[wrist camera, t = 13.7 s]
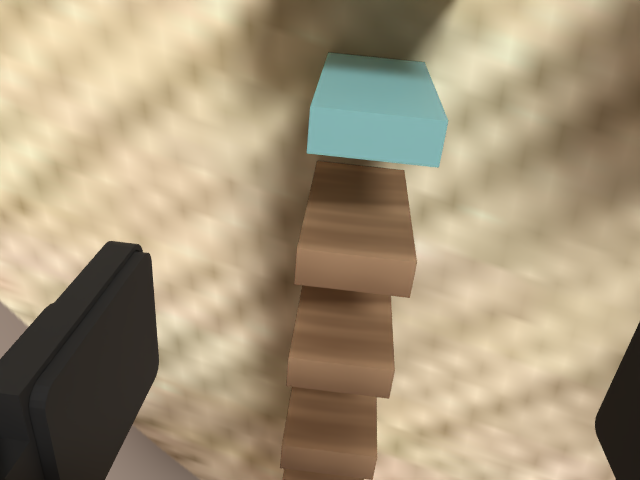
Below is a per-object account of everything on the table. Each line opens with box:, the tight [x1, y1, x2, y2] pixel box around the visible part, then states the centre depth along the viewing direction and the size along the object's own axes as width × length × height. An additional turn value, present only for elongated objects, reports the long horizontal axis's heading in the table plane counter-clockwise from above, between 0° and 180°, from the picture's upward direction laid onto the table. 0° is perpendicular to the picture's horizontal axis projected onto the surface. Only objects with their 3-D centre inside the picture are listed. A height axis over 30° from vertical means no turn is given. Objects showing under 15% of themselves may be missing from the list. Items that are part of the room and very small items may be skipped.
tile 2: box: [280, 387, 377, 480], centre depth 34 cm, size 2×5×10 cm, turn 85°
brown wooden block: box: [294, 161, 417, 298], centre depth 28 cm, size 2×5×10 cm, turn 85°
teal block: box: [307, 52, 448, 167], centre depth 25 cm, size 2×5×10 cm, turn 85°
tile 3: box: [286, 285, 395, 398], centre depth 31 cm, size 2×5×10 cm, turn 85°
